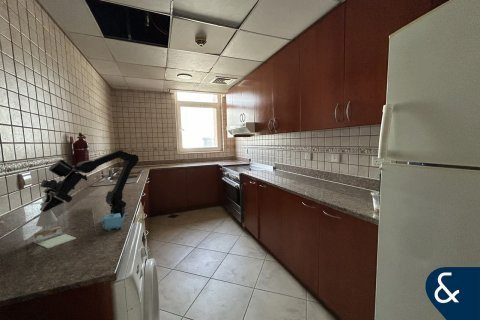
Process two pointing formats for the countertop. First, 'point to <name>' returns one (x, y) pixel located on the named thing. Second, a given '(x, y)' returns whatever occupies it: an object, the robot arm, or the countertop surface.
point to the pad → (56, 241)
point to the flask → (46, 217)
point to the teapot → (113, 221)
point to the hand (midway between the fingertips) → (42, 210)
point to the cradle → (41, 238)
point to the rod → (47, 231)
